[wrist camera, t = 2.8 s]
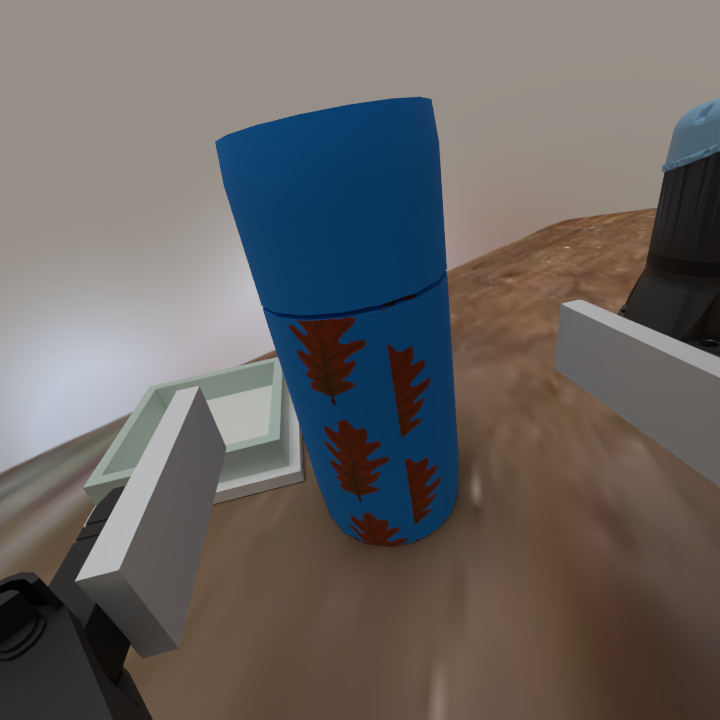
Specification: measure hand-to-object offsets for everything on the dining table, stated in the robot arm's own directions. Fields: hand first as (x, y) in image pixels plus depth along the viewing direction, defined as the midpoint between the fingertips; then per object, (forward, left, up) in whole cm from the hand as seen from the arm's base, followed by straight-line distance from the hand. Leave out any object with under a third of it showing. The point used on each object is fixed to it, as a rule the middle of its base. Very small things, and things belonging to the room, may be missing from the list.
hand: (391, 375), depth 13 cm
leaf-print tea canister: (0, -10, -16) cm, 19 cm away
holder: (+16, -22, -16) cm, 31 cm away
